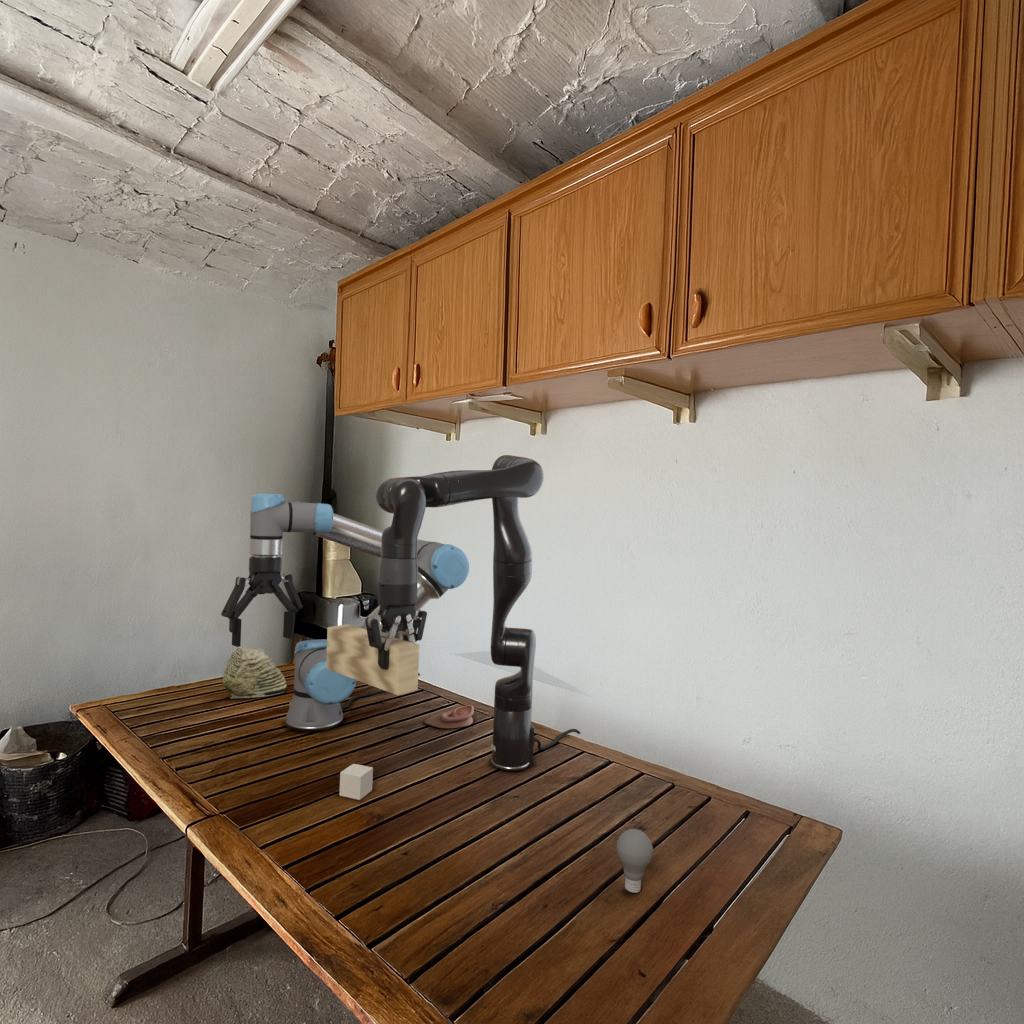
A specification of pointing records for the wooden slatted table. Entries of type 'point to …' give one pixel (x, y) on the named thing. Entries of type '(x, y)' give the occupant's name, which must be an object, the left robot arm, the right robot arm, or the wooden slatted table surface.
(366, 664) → the ash bar
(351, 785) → the white cube
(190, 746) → the wooden slatted table surface
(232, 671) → the fossil
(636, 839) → the light bulb
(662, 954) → the wooden slatted table surface
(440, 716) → the anatomical model
